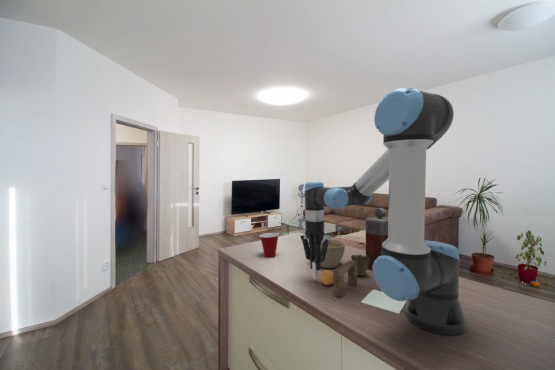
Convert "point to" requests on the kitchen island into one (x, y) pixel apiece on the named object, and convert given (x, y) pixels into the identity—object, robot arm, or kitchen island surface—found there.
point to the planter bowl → (333, 253)
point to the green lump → (361, 264)
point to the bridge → (339, 277)
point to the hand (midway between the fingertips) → (315, 277)
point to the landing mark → (383, 301)
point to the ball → (326, 277)
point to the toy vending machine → (376, 235)
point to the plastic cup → (269, 244)
